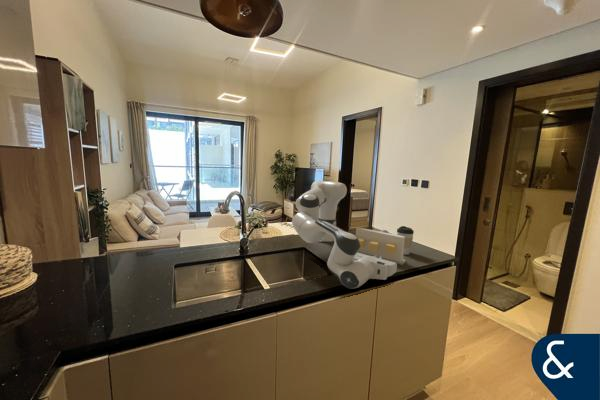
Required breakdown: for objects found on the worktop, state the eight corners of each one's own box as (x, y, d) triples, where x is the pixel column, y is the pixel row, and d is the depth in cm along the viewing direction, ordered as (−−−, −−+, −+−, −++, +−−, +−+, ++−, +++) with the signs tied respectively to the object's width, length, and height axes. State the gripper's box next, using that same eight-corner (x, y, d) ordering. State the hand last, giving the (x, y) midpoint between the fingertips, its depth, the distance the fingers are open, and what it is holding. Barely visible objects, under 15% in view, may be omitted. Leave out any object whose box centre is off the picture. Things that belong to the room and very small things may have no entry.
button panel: (352, 251, 144) (354, 228, 141) (356, 249, 147) (358, 226, 145) (402, 264, 126) (404, 238, 124) (405, 261, 130) (407, 236, 128)
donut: (386, 243, 160) (387, 228, 159) (390, 244, 157) (391, 229, 156) (375, 245, 155) (376, 230, 154) (379, 247, 152) (380, 231, 151)
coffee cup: (414, 255, 139) (417, 229, 137) (398, 255, 139) (400, 229, 137) (407, 250, 148) (410, 225, 146) (392, 249, 148) (394, 225, 146)
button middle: (368, 249, 131) (369, 242, 130) (374, 246, 136) (374, 239, 136) (376, 251, 128) (376, 244, 128) (381, 248, 134) (381, 241, 133)
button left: (355, 246, 136) (355, 239, 135) (360, 243, 141) (361, 236, 141) (361, 248, 133) (362, 241, 133) (367, 244, 139) (367, 238, 138)
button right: (385, 252, 128) (386, 245, 127) (390, 248, 133) (390, 241, 133) (393, 254, 125) (393, 246, 125) (397, 250, 131) (398, 243, 130)
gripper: (344, 267, 112) (358, 258, 122) (389, 281, 99) (400, 270, 109) (345, 253, 111) (358, 246, 121) (390, 266, 98) (401, 256, 109)
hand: (378, 257), depth 115 cm, fingers closed
